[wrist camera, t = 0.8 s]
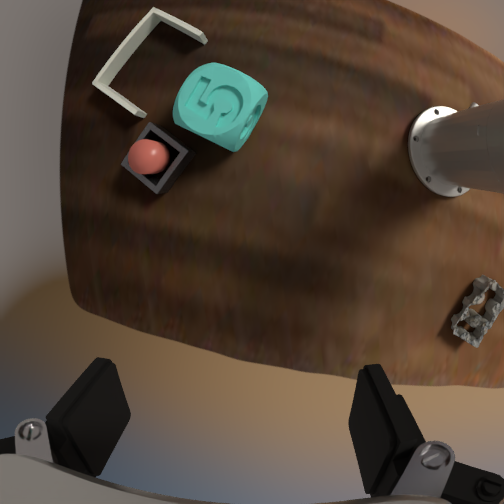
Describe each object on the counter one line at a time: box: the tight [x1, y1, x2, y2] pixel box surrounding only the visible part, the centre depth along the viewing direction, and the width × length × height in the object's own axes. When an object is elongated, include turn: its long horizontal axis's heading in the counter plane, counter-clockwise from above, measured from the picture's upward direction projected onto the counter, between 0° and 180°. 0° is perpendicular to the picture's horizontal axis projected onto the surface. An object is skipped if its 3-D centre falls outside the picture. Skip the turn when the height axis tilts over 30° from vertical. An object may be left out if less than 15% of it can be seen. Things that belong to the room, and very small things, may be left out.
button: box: [128, 139, 170, 174], centre depth 33 cm, size 4×4×4 cm
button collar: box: [121, 122, 196, 194], centre depth 36 cm, size 6×6×4 cm
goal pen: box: [92, 7, 208, 118], centre depth 33 cm, size 14×9×3 cm
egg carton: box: [451, 275, 504, 348], centre depth 37 cm, size 11×8×4 cm
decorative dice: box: [173, 63, 268, 152], centre depth 32 cm, size 8×8×8 cm
